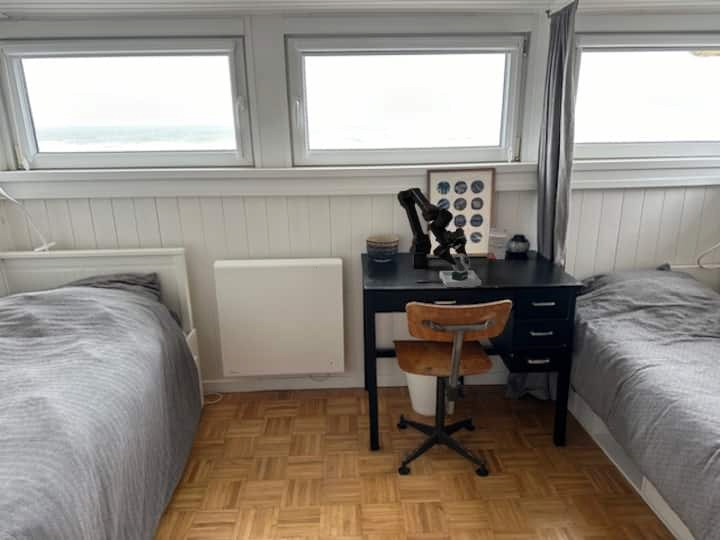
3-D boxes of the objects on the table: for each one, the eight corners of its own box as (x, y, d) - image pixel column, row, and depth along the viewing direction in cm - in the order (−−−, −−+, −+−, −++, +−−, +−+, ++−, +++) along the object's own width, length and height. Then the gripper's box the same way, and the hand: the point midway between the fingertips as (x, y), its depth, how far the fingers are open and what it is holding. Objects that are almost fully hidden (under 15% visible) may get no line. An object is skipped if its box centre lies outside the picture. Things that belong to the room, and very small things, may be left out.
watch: (464, 282, 205) (465, 257, 201) (448, 278, 210) (449, 253, 207) (471, 279, 209) (473, 254, 205) (455, 275, 214) (456, 251, 211)
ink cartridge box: (486, 258, 243) (488, 229, 238) (487, 256, 247) (489, 227, 243) (504, 260, 240) (506, 230, 236) (505, 257, 244) (507, 228, 240)
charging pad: (418, 288, 202) (418, 282, 202) (413, 277, 216) (413, 271, 215) (481, 287, 203) (481, 281, 202) (472, 276, 217) (472, 270, 216)
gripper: (439, 225, 199) (461, 256, 195) (464, 218, 212) (485, 247, 208) (423, 241, 206) (444, 271, 202) (448, 233, 219) (468, 261, 215)
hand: (461, 262), depth 207 cm, fingers open, 9 cm apart
